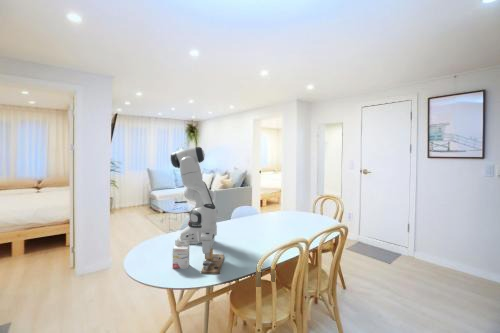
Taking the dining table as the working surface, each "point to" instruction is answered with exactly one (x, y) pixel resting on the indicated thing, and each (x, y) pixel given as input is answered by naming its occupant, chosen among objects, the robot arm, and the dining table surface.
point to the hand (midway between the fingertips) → (208, 254)
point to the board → (213, 265)
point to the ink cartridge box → (181, 254)
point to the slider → (211, 255)
